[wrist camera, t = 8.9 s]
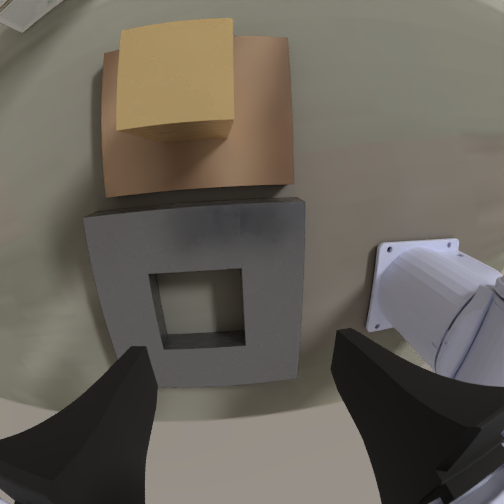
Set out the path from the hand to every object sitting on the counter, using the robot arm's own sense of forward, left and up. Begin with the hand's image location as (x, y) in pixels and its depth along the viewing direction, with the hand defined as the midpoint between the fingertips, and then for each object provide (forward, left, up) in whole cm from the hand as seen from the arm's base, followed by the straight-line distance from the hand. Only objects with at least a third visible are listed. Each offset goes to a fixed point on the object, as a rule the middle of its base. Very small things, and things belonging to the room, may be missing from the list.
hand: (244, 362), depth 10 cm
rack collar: (+2, +3, -10) cm, 11 cm away
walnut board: (+2, -10, -10) cm, 15 cm away
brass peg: (+2, -10, -9) cm, 14 cm away
